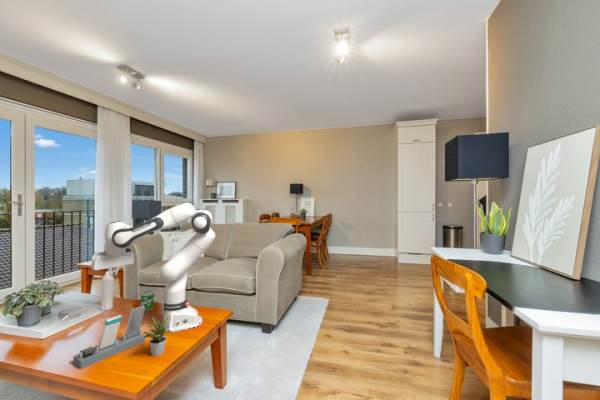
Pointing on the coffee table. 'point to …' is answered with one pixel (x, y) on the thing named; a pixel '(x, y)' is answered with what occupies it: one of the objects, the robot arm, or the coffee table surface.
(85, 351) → the black rocker
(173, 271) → the robot arm
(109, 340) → the white paddle
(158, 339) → the house plant
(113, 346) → the grey holder rack
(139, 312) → the grey upright panel
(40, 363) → the coffee table surface
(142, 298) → the soda can
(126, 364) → the coffee table surface
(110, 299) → the water bottle
